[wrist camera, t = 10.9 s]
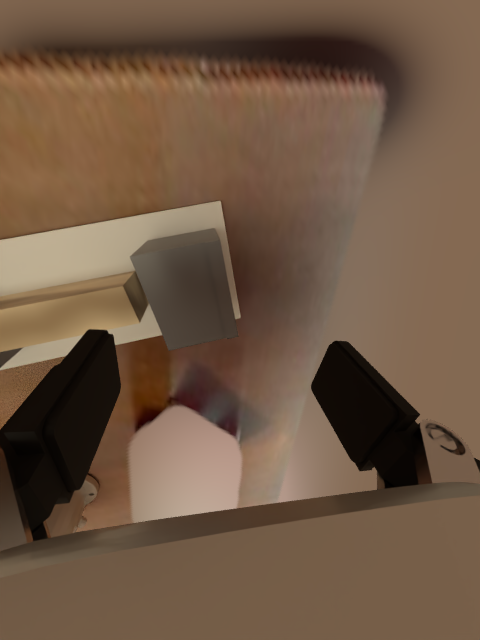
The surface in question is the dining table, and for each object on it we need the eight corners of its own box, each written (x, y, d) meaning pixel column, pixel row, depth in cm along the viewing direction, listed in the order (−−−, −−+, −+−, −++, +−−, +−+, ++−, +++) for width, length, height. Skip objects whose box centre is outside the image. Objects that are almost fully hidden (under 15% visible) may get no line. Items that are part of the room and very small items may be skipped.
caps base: (239, 313, 26) (247, 337, 21) (-6, 366, 24) (-51, 404, 20) (219, 200, 19) (225, 202, 15) (-115, 260, 18) (-216, 281, 13)
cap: (229, 305, 23) (238, 336, 18) (175, 317, 23) (168, 352, 18) (214, 227, 19) (220, 239, 14) (147, 240, 19) (128, 257, 14)
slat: (148, 303, 22) (139, 323, 19) (-15, 336, 21) (-57, 363, 18) (135, 270, 20) (122, 286, 17) (-45, 305, 19) (-98, 328, 16)
